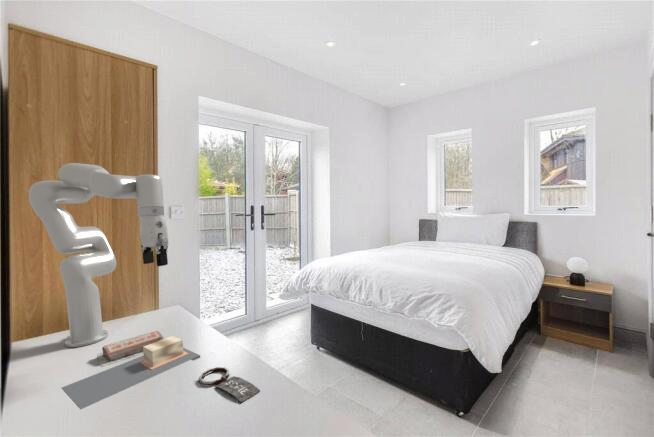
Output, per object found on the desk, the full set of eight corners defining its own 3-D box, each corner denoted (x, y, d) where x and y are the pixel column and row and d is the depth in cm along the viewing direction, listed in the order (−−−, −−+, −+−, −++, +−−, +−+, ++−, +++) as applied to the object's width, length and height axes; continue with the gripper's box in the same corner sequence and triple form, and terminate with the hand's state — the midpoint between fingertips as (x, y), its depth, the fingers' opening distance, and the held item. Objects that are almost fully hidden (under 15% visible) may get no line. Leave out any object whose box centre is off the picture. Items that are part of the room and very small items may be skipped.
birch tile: (173, 349, 102) (172, 335, 101) (183, 353, 98) (182, 339, 98) (144, 361, 95) (143, 346, 94) (153, 366, 91) (152, 351, 91)
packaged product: (157, 327, 112) (166, 335, 105) (159, 340, 112) (167, 349, 105) (95, 344, 100) (100, 354, 93) (97, 359, 100) (101, 370, 93)
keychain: (236, 408, 72) (235, 400, 72) (193, 382, 84) (193, 374, 84) (262, 391, 78) (262, 384, 78) (219, 369, 90) (219, 362, 90)
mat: (61, 389, 83) (61, 386, 83) (174, 345, 107) (174, 342, 107) (81, 411, 73) (80, 408, 73) (200, 357, 97) (200, 354, 97)
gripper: (175, 211, 101) (179, 264, 102) (151, 212, 111) (155, 260, 112) (151, 212, 95) (155, 269, 96) (127, 213, 105) (132, 264, 106)
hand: (155, 264), depth 104 cm, fingers open, 9 cm apart
